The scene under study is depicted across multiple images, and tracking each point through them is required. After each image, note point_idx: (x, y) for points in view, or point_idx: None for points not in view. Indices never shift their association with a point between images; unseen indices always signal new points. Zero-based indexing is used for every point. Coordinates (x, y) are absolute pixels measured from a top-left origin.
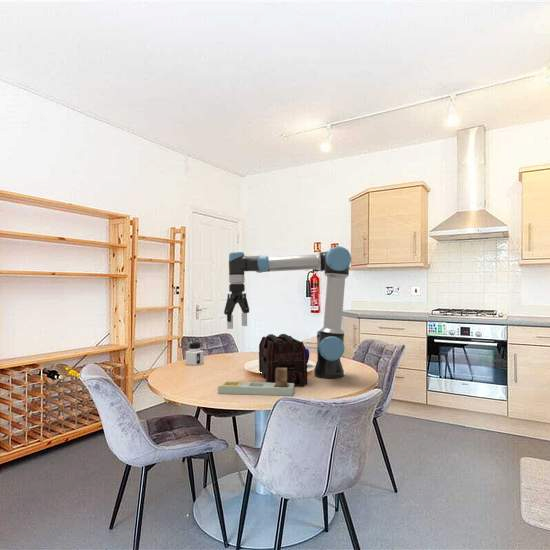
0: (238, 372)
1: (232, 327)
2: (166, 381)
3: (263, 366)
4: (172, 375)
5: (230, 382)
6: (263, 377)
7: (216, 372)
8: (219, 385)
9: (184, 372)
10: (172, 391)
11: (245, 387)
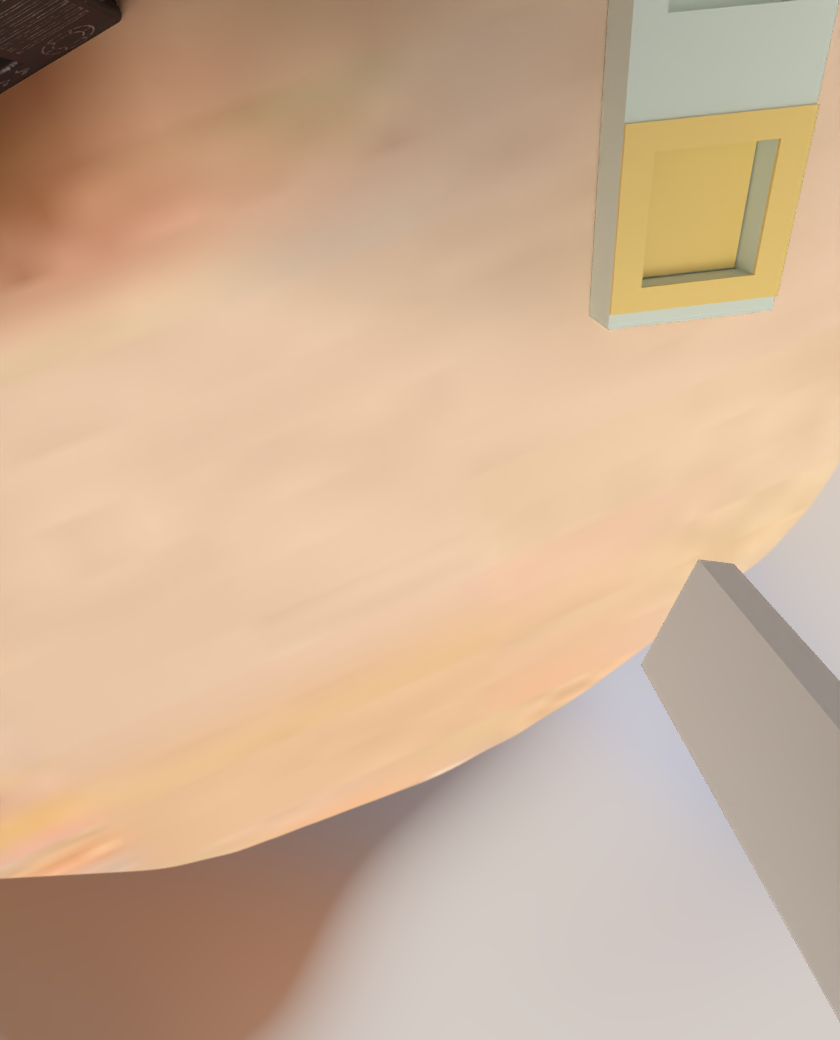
0: (3, 404)
1: (737, 582)
2: (451, 709)
3: (41, 13)
4: (302, 749)
5: (642, 254)
6: (89, 39)
7: (101, 569)
8: (742, 309)
9: (200, 735)
10: (671, 584)
11: (833, 23)
